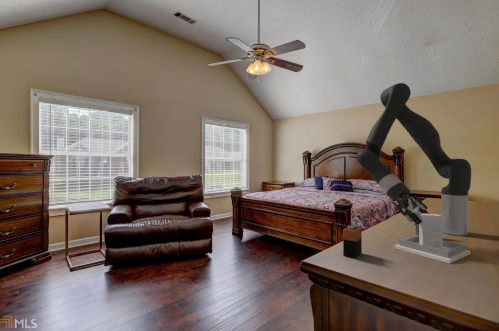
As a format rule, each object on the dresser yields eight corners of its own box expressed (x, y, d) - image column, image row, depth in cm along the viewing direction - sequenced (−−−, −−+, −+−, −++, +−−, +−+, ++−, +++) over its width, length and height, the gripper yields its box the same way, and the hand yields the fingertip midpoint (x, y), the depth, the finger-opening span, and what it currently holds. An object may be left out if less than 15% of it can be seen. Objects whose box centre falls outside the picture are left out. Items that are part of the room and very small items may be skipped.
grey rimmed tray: (416, 241, 101) (416, 233, 101) (470, 253, 86) (470, 245, 86) (394, 247, 92) (394, 239, 92) (449, 263, 78) (449, 253, 78)
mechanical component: (433, 237, 105) (433, 213, 105) (406, 236, 107) (406, 213, 107) (429, 235, 108) (429, 212, 108) (403, 234, 110) (403, 211, 110)
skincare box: (438, 246, 90) (438, 213, 90) (442, 250, 86) (442, 216, 86) (418, 245, 92) (418, 212, 92) (422, 248, 88) (422, 214, 88)
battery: (342, 256, 84) (342, 226, 84) (349, 250, 90) (349, 222, 90) (356, 259, 82) (356, 228, 82) (362, 253, 87) (361, 224, 87)
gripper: (390, 182, 95) (424, 218, 85) (410, 180, 102) (443, 213, 92) (376, 195, 99) (407, 230, 89) (397, 192, 106) (427, 225, 97)
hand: (425, 221), depth 91 cm, fingers open, 8 cm apart
